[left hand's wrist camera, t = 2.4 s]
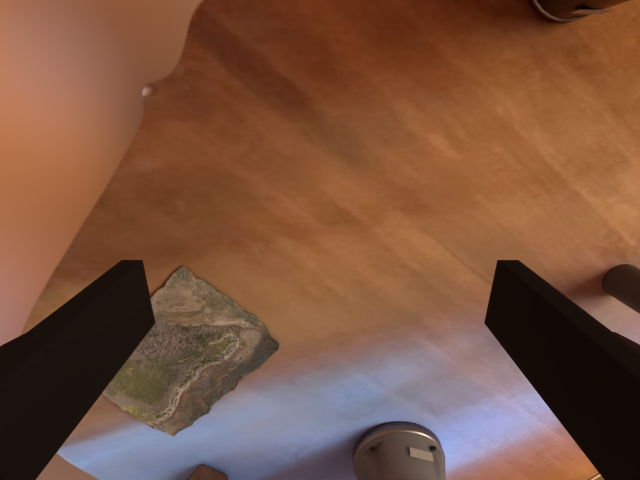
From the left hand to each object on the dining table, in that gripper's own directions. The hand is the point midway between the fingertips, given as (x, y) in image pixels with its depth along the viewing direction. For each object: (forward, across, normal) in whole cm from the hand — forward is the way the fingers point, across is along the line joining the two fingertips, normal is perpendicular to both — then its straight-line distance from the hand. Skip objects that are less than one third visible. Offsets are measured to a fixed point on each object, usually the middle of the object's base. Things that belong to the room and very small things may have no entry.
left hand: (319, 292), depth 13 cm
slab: (+30, +21, +29) cm, 47 cm away
